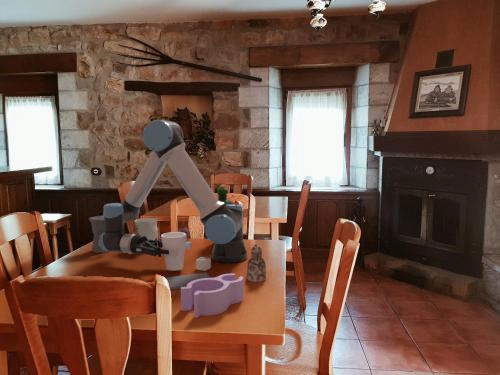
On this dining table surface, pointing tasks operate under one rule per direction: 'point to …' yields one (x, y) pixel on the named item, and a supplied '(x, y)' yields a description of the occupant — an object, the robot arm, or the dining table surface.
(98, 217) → the coffeepot
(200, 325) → the dining table surface
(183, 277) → the slate mat
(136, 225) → the pitcher
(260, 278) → the figurine
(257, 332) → the dining table surface
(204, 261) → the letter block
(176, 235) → the foam cup
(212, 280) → the clip
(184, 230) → the vegetable
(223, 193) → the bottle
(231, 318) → the dining table surface
